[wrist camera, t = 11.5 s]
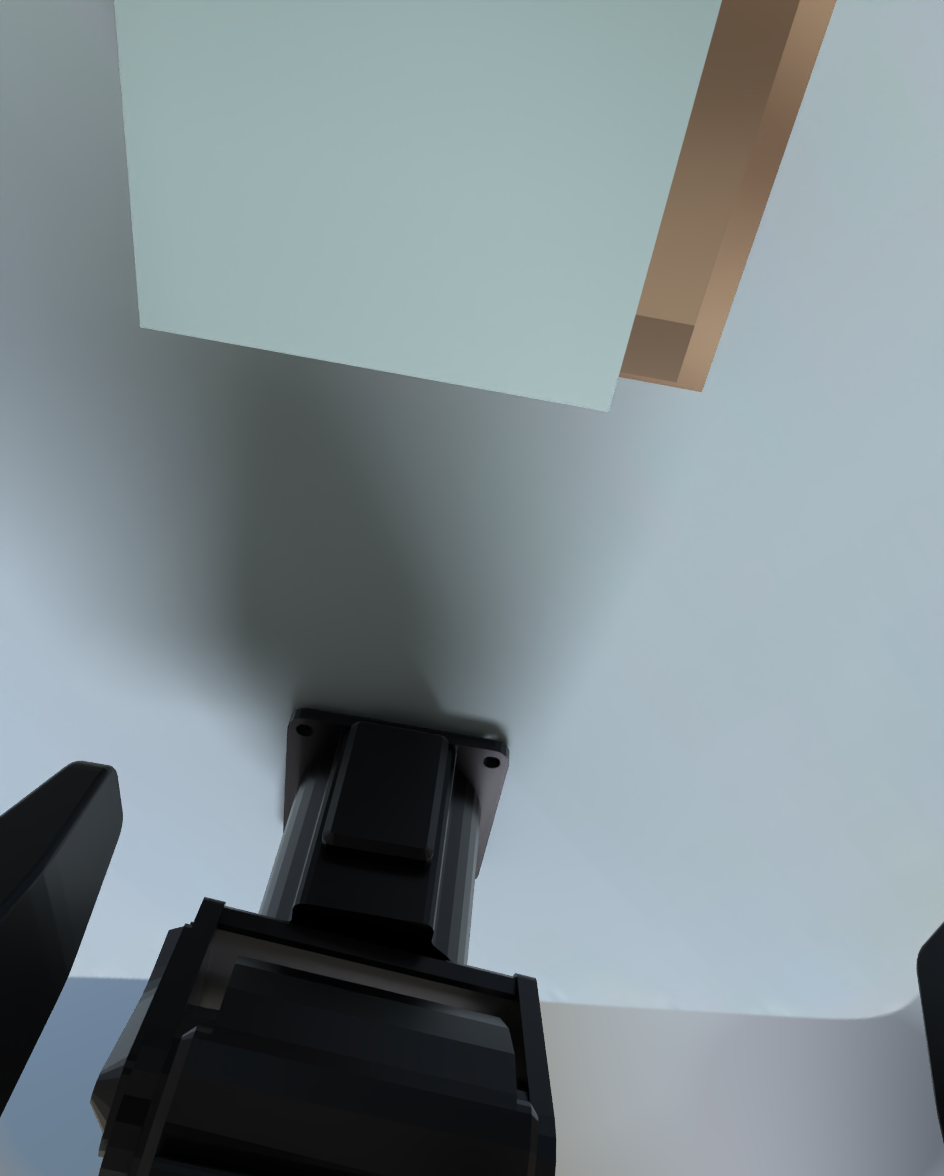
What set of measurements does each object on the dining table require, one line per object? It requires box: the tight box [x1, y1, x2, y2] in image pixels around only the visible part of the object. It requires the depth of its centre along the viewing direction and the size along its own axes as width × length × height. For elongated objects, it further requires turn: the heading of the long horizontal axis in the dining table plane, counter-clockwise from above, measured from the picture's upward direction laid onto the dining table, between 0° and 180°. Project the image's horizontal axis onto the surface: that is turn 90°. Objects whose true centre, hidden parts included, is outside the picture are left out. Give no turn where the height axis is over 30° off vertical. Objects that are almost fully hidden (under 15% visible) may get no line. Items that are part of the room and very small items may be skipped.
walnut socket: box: [619, 0, 836, 392], centre depth 13 cm, size 11×11×4 cm
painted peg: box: [114, 0, 722, 412], centre depth 11 cm, size 5×5×9 cm
